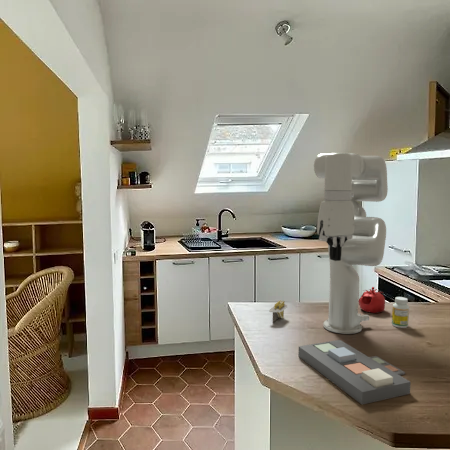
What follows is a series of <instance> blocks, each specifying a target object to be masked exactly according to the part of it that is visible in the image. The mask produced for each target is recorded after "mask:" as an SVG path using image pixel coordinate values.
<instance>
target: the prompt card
mask: <svg viewBox="0 0 450 450" xmlns="http://www.w3.org/2000/svg"><path fill="white" fill-rule="evenodd" d="M369 357H370V358H371V359H373V360H375V361H376V362H378V363H380V364H381V365H383V366H385V367H387V368H388V369H390V370H392V371H393V372H395V373H397V374H398V375H400V376H403V375H405V374H406V371H405V370H404V371H403V370H402V369H400V368H399V367H397V366H395V365H394V364H391V363H390V362H389V361H386V360H384V359H382V357H379V356H377V355H374V356H369Z"/></svg>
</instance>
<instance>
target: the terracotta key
mask: <svg viewBox="0 0 450 450" xmlns="http://www.w3.org/2000/svg"><path fill="white" fill-rule="evenodd" d="M344 367H345V368H347V369H348V370H350V371H351V372H353V373H354V374H356V375H358V374H362V371H367V370H371V369H369V368H368V367H366V366H365V365H363V364H361V363H355V364H350V365H344Z"/></svg>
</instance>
